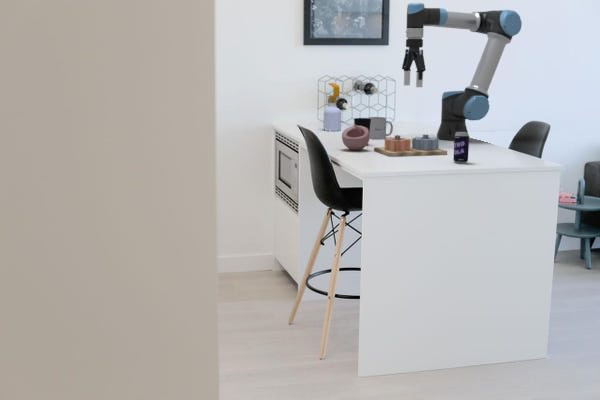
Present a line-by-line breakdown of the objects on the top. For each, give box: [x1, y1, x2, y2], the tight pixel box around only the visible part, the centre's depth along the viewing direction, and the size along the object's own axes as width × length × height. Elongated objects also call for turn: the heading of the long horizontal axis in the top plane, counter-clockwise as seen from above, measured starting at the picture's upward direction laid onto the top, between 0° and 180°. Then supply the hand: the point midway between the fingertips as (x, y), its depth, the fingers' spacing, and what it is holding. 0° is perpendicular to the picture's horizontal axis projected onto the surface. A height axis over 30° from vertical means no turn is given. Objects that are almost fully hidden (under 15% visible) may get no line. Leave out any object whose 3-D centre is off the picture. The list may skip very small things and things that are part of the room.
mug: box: [368, 116, 394, 140], centre depth 412 cm, size 12×9×10 cm
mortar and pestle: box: [341, 123, 371, 151], centre depth 368 cm, size 12×12×11 cm
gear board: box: [373, 134, 448, 158], centre depth 362 cm, size 26×18×8 cm
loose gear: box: [384, 137, 412, 152], centre depth 360 cm, size 11×11×4 cm
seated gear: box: [411, 136, 440, 151], centre depth 364 cm, size 11×11×4 cm
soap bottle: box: [323, 82, 342, 132], centre depth 443 cm, size 9×9×25 cm
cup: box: [353, 117, 371, 147], centre depth 386 cm, size 8×8×12 cm
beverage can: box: [452, 132, 470, 164], centre depth 335 cm, size 6×6×12 cm
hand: (412, 86), depth 383 cm, fingers open, 13 cm apart
